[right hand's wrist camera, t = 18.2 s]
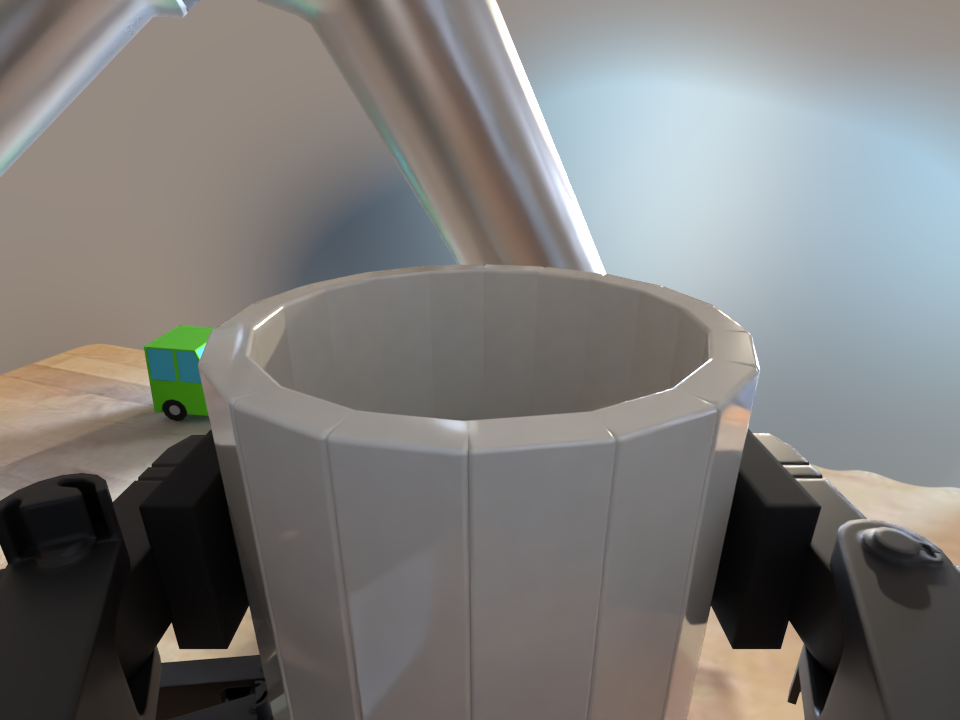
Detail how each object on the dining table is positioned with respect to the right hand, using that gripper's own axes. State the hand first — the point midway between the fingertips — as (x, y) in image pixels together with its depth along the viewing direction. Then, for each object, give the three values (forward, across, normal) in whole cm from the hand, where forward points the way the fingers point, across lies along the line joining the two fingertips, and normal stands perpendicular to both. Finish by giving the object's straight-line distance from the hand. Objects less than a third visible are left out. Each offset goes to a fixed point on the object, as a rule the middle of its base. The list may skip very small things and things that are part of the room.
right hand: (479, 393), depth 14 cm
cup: (-4, 0, -7) cm, 8 cm away
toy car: (+52, -34, -27) cm, 68 cm away
